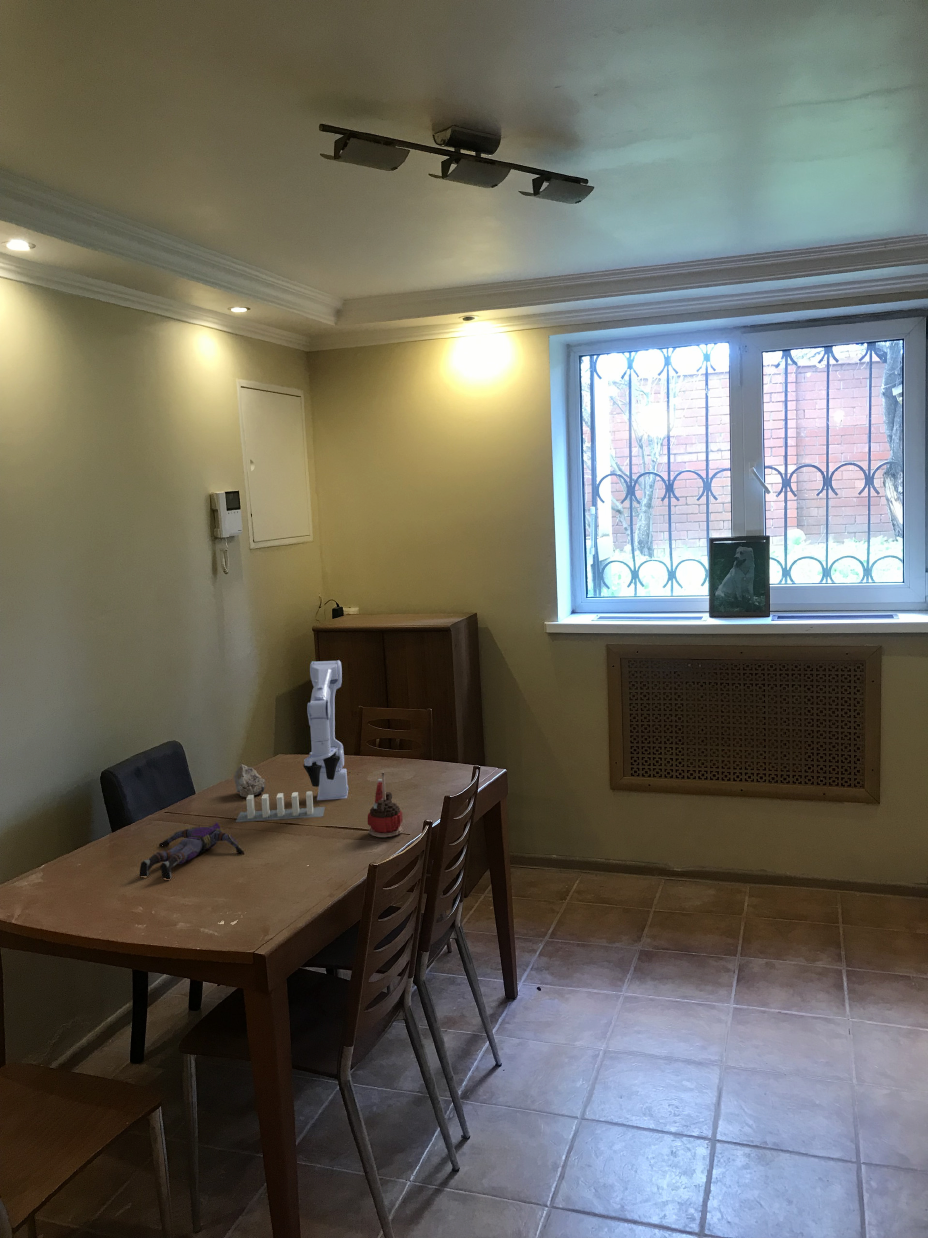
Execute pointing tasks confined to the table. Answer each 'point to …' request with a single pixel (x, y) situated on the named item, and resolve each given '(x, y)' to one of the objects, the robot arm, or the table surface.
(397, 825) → the cake
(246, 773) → the rock
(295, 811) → the domino
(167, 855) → the figurine
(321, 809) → the mat
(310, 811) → the domino
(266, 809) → the domino
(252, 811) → the domino
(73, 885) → the table surface
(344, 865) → the table surface
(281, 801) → the domino
